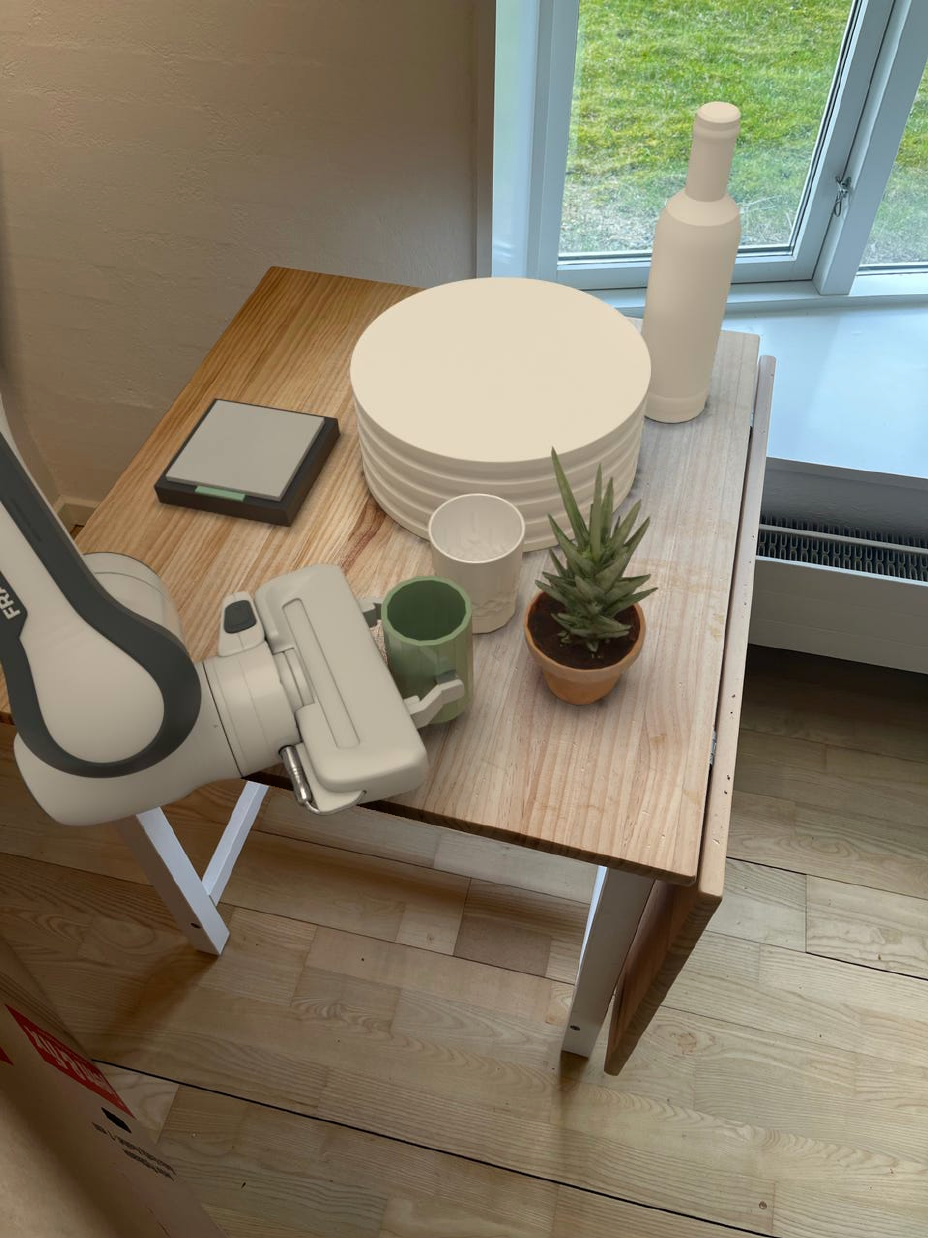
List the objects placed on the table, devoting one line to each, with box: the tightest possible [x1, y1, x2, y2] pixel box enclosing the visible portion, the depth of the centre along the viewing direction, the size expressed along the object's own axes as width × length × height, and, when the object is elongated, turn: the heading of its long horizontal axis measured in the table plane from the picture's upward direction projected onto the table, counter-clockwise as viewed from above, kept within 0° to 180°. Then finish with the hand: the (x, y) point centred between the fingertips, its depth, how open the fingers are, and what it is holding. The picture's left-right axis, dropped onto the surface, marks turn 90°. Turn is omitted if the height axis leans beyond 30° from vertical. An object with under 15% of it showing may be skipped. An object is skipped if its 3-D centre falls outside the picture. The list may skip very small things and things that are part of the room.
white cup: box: [428, 493, 525, 634], centre depth 81 cm, size 8×8×10 cm
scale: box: [153, 397, 341, 528], centre depth 96 cm, size 14×14×3 cm
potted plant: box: [523, 446, 659, 706], centre depth 70 cm, size 10×10×25 cm
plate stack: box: [349, 276, 651, 553], centre depth 93 cm, size 28×28×12 cm
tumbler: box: [380, 575, 475, 725], centre depth 72 cm, size 6×6×10 cm
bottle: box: [640, 101, 743, 424], centre depth 90 cm, size 8×8×30 cm
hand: (440, 642), depth 72 cm, fingers closed on tumbler, 6 cm apart
